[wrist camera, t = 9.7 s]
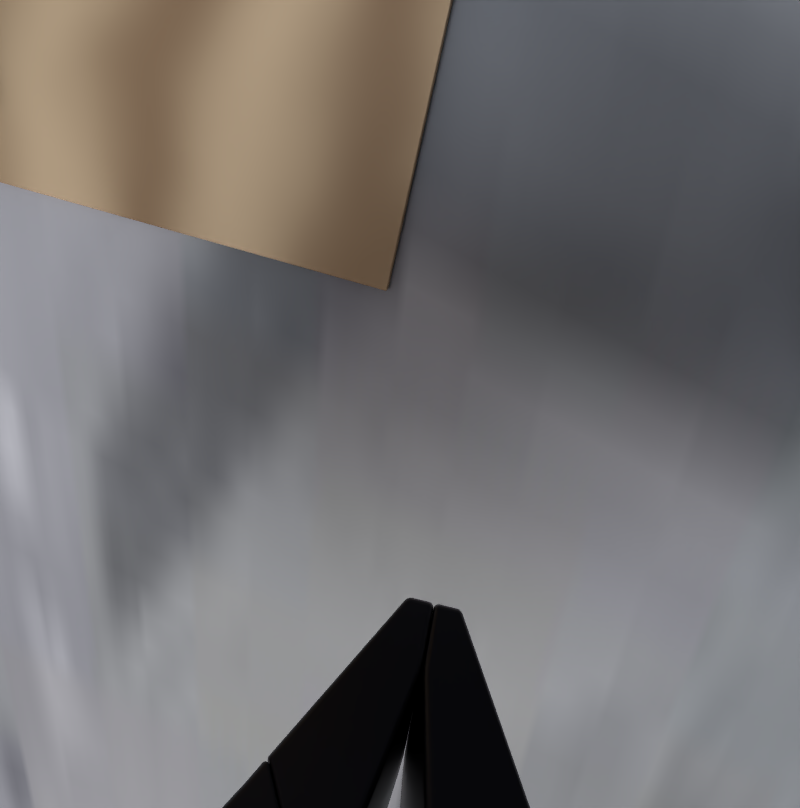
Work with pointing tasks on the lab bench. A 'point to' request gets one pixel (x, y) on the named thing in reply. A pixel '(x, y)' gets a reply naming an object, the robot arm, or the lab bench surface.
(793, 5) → the lab bench surface
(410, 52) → the cork mat
